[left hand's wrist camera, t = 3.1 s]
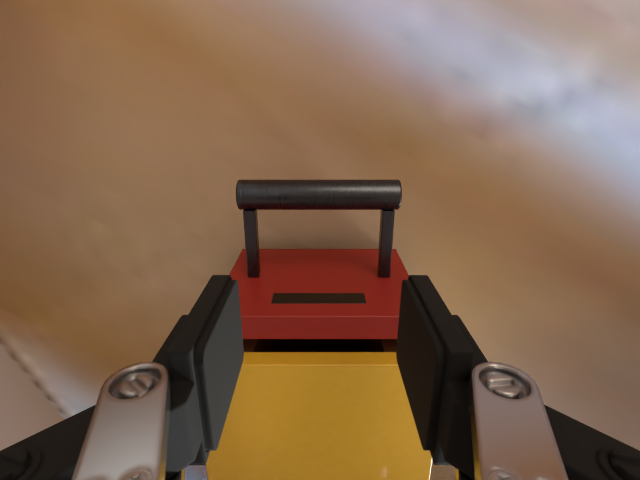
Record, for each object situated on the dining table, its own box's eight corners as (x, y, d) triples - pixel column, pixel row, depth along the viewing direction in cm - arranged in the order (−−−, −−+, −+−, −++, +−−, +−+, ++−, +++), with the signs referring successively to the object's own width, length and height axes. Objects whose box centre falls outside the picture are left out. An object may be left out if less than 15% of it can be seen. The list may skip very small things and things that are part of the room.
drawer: (236, 167, 22) (194, 200, 15) (401, 166, 22) (443, 200, 15) (259, 470, 31) (239, 590, 23) (379, 470, 31) (398, 590, 23)
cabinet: (237, 268, 26) (190, 365, 16) (400, 268, 26) (446, 365, 16) (255, 486, 33) (229, 641, 23) (383, 486, 33) (408, 641, 23)
